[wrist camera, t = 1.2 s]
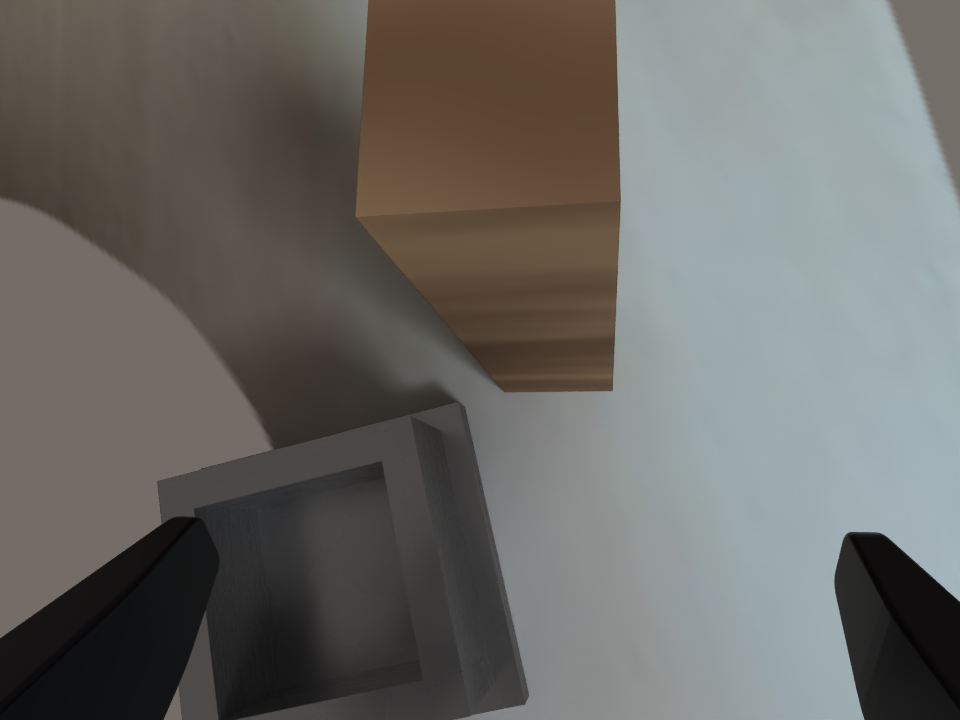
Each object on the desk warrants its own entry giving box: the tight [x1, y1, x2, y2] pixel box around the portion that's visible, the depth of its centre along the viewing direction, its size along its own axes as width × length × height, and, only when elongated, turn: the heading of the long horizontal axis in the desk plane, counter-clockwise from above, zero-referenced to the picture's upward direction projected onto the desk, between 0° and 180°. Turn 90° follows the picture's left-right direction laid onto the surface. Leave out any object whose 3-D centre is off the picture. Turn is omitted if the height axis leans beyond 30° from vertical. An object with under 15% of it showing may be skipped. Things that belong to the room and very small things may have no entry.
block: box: [355, 0, 621, 392], centre depth 16 cm, size 4×4×14 cm
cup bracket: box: [157, 402, 529, 720], centre depth 20 cm, size 9×9×4 cm
